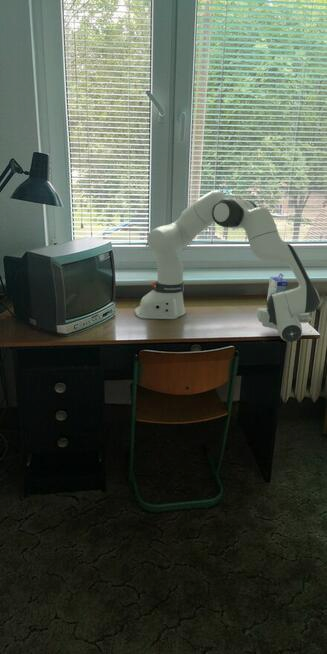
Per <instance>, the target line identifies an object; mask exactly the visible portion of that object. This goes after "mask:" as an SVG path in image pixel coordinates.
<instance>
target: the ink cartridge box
mask: <svg viewBox="0 0 327 654" xmlns="http://www.w3.org/2000/svg"><path fill="white" fill-rule="evenodd" d="M283 278H284V274H282V273H280V274H278V276H270V277H269V282H268V290H267V297H266V301H268V299H269V297H270V295H271V293H279V292H282V291H287V290H288V289H287V288H288V281H287V280H285V279H283Z"/></svg>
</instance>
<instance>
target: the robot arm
mask: <svg viewBox="0 0 327 654" xmlns="http://www.w3.org/2000/svg"><path fill="white" fill-rule="evenodd" d="M214 223H215V224H217V225H218V226H219V227H222V228H230V229H243V230H244V231H245V235H246V237H247V241H248V244H249V247H250V249H251V252H252V254H253V255H254V256H255V257H256V258H257V259H259V260H262V261H266V262H275V263H276V262H278V263H283V264H286V265H287V266H289V268H290V269H291V271H292V272H293V275H294V277H295V279H296V281H297V284H298V286H297V287H294V288H291V289H287V290H286V291H282V292H279V293H275V294H272V295H270V297H269V299H268V301H267V300H266V301H267V302H266V307H258V308H257V309H256V318H257V320H258V321H259V323H261V326H262V327H264V328H269V329H273V330H275V331H277V333H278V335H279V336H280V338H281V339H282V340H283V341H285V342H288V343H294V342H296V341H298V340H299V339H301V337H302V334H303V327H302V324H305V323H309V322H310V321H312V320H313V319H312V317H311V316H310V313H313V312H315V311H317V309H318V308H319V306H320V305H321V299H320V295H319V293H318V290H317V288H315V286H314V285H313V282H312V280H311V279H310V278H309V275H308V273H307V271H306V269H305V268H304V266H303V263H302V261H301V259H300V258H299V255H298V253H297V252H296V250H295V249H294V247H293V245H291V244H290V243H286V242H285V241H284V240H283V239H282V238H281V236H280V233H279V230H278V228H277V224H276V223H275V220H274V218H273V216H272V214H271V212H270V210H269V209H268V208H266V207H264V206H257V204H255V202H253V201H250V200H248V199H244V198H234V197H233V198H232V197H231V198H230V197H227V195H226V194H225V192H223V191H221V190H219V189H213V190H211V191H210V192H207V193H205V194H204V195H202V196H201V197H199V198H198V199H197V200H196V201H194V202H193V203H192V204H190V205H189V206H188V207H186V208H185V209H184V210H182V212H181V213H180V216H179V218H178V219H176V220H175V221H173V222H171V223H169V224H165V225H161V226H157V227H155V228H153V229H152V230H150V232H149V233H148V235H147V239H146V241H147V245H148V248H149V249H150V250H151V251H152V252H153V254H154V256H155V259H156V264H157V265H156V266H157V267H156V268H157V280H156V281H154V280H151V282H150V285H151V286H152V289H151V290H150V291H149V292H148V293H147V294H145V295H144V296H143V297H142V298H141V300H140V303H139V306H138V307H136V308H135V309H134V314H135V316H136V317H138V318H140V319H154V320H157V319H159V320H176V319H177V318H179V317H181V316H184V315H185V314H186V309H185V305H184V290H185V283H184V264H183V262H182V261H181V260H180V258H179V256H178V255H179V254H178V250H180V249H184V248H186V247H187V246H188V245H190V244H191V243H192V242H193V240H194V239H195V238H196V237H197V236H198V235H199V234H201V233H202V232H203V231H204V230H206V229H208V228H209V226H211V225H212V224H214ZM301 323H302V324H301Z"/></svg>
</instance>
